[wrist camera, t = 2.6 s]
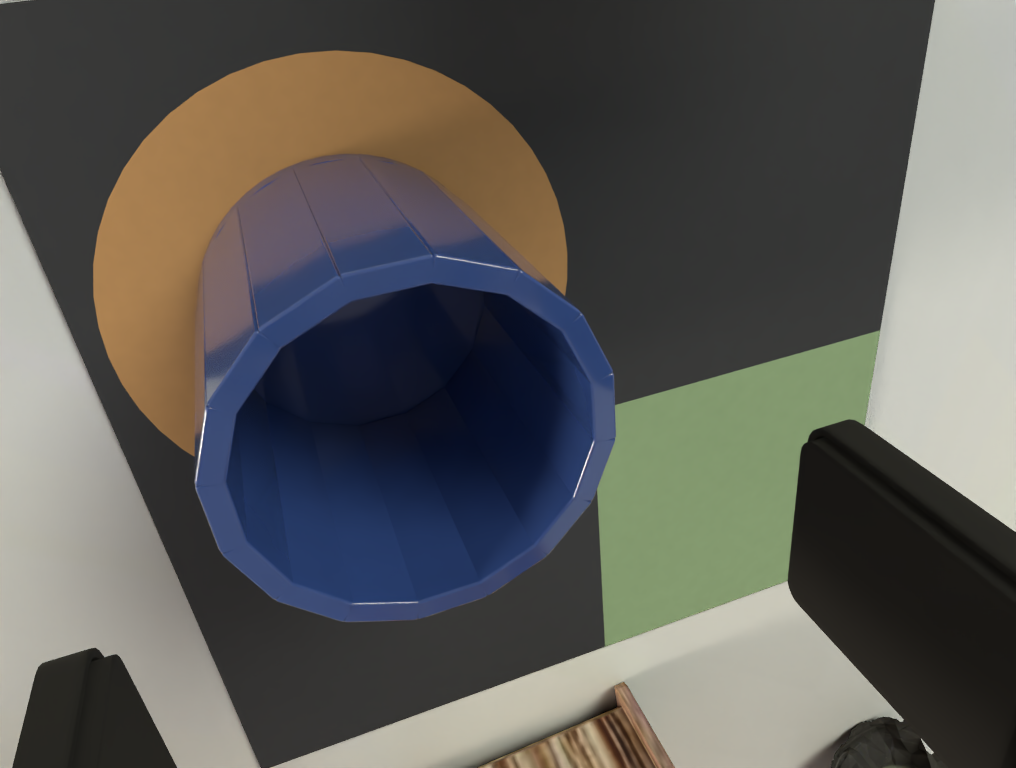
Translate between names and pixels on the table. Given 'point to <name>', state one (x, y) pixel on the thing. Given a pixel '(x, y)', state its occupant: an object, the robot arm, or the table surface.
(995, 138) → the table surface
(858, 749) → the artificial flower
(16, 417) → the table surface
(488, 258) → the blue cup
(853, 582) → the robot arm
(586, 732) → the book
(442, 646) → the desk mat
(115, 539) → the table surface
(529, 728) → the table surface
